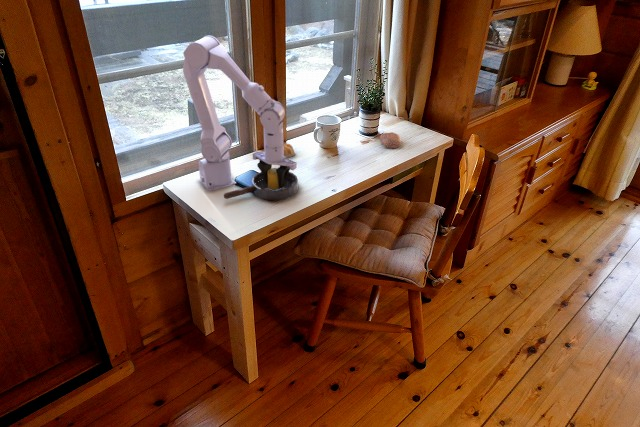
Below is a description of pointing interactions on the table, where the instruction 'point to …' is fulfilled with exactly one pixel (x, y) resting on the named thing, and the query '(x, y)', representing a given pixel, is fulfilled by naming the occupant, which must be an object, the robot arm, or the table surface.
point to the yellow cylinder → (273, 179)
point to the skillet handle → (239, 192)
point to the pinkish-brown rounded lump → (390, 140)
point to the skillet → (286, 192)
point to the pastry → (288, 150)
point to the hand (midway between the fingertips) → (275, 184)
